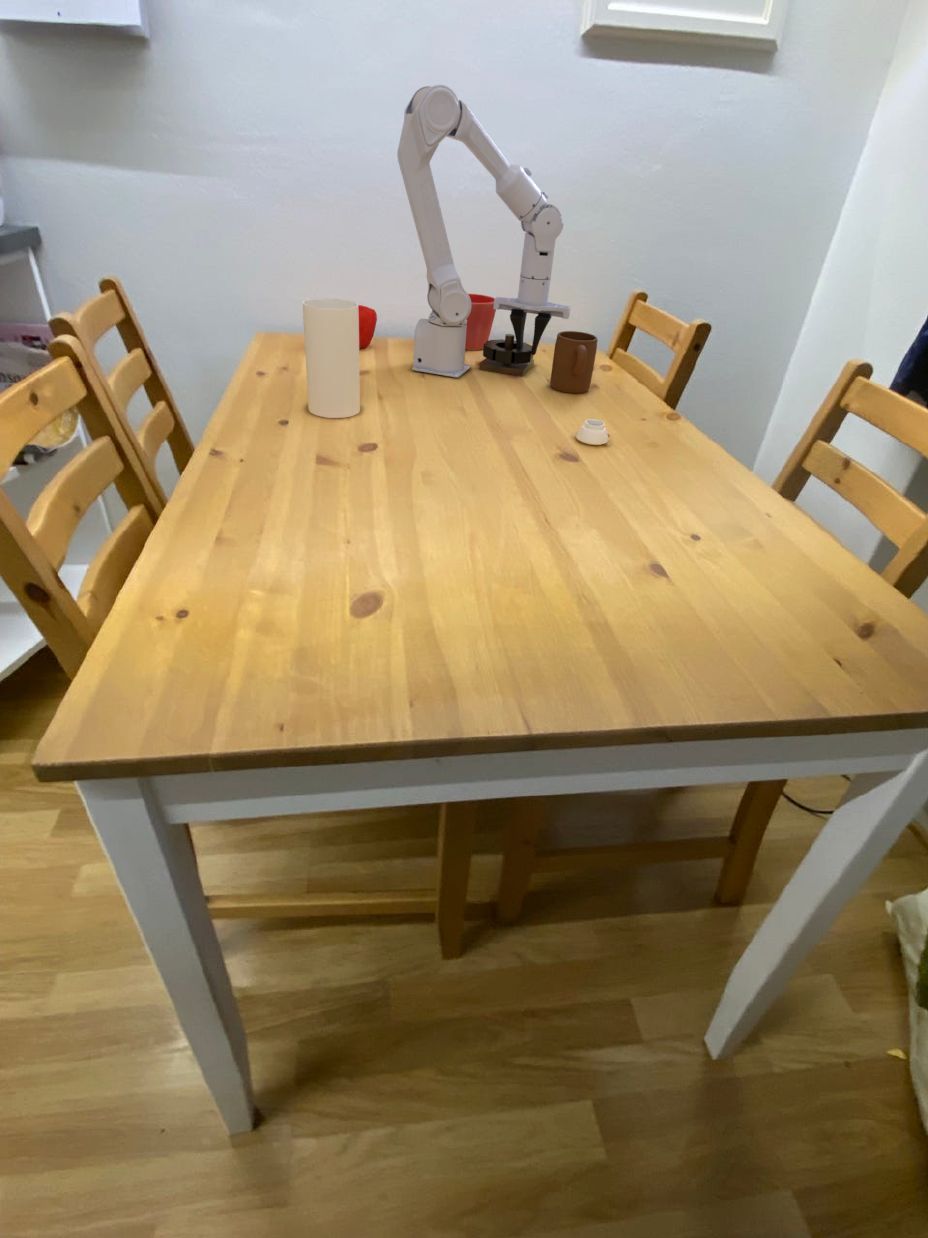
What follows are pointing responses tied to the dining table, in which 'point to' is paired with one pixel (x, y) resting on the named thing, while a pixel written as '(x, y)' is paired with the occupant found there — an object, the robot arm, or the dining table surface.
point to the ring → (507, 352)
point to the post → (504, 367)
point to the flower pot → (479, 321)
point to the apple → (366, 325)
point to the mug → (573, 361)
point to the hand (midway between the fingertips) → (526, 352)
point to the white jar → (593, 432)
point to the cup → (332, 356)
